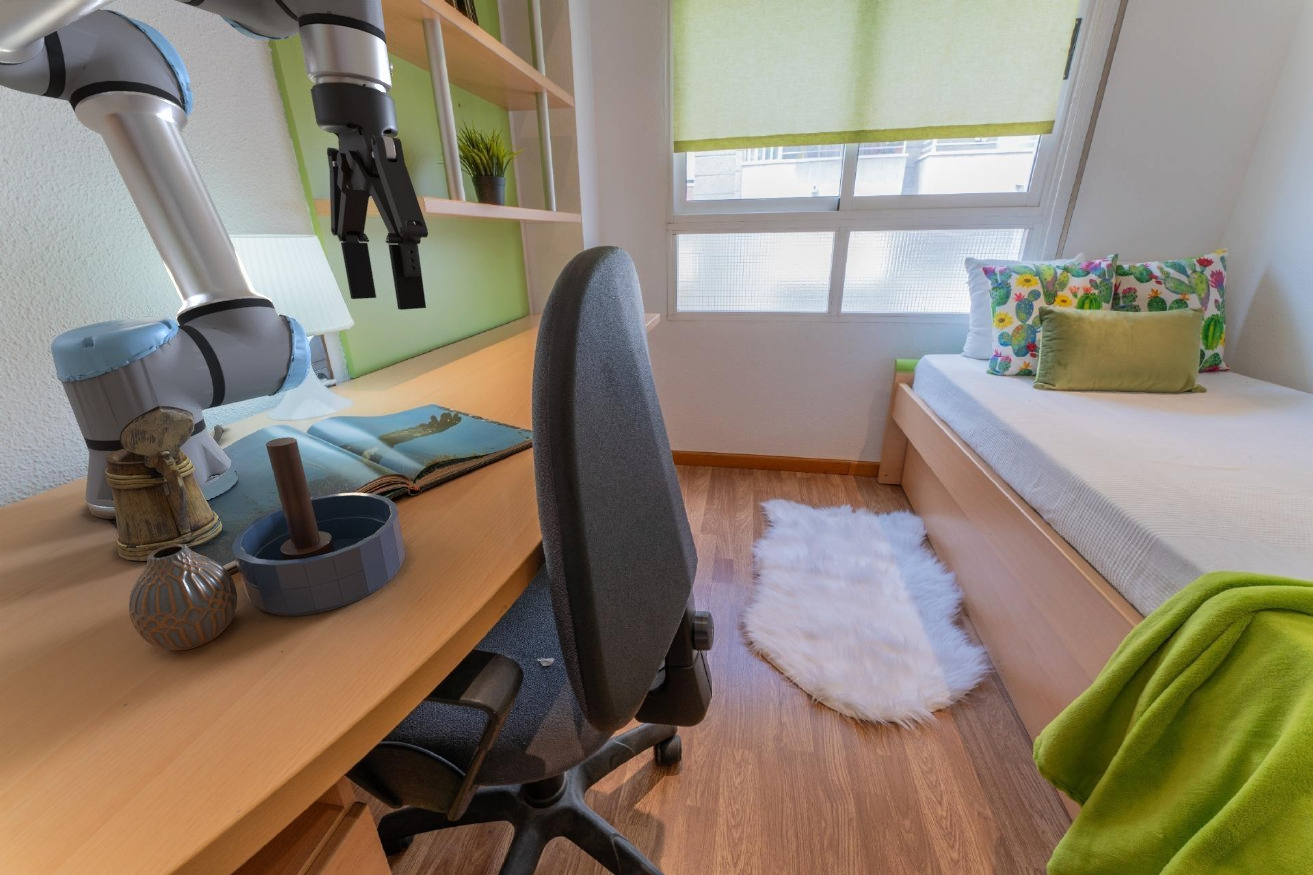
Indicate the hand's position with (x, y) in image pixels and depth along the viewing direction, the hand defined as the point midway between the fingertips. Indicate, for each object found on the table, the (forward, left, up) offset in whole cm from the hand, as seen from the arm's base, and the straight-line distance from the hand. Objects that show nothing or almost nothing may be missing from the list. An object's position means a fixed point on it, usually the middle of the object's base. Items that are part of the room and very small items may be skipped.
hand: (386, 303), depth 60 cm
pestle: (+8, -15, -26) cm, 31 cm away
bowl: (+8, -13, -27) cm, 31 cm away
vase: (+10, -24, -27) cm, 38 cm away
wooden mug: (-10, -23, -27) cm, 37 cm away
